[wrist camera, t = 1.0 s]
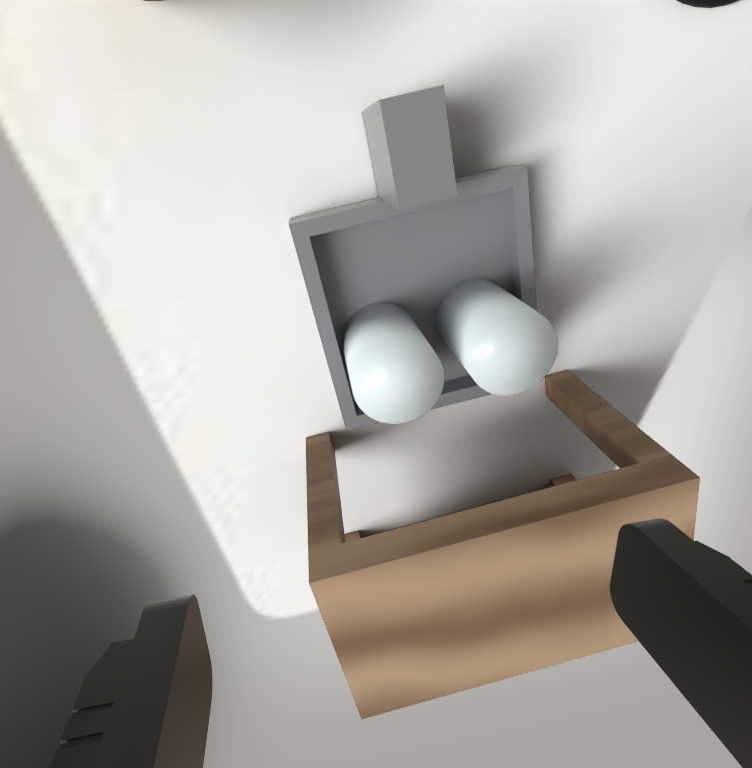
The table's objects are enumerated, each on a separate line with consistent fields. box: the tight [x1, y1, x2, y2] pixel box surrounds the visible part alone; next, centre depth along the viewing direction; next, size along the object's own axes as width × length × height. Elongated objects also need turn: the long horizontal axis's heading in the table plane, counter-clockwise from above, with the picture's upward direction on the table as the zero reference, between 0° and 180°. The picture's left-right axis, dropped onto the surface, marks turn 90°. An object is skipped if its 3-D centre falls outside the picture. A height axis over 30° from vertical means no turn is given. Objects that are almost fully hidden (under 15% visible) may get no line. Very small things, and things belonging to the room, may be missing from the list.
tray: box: [289, 85, 558, 431], centre depth 25 cm, size 16×12×7 cm
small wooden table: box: [306, 370, 700, 719], centre depth 28 cm, size 10×17×12 cm, turn 102°
